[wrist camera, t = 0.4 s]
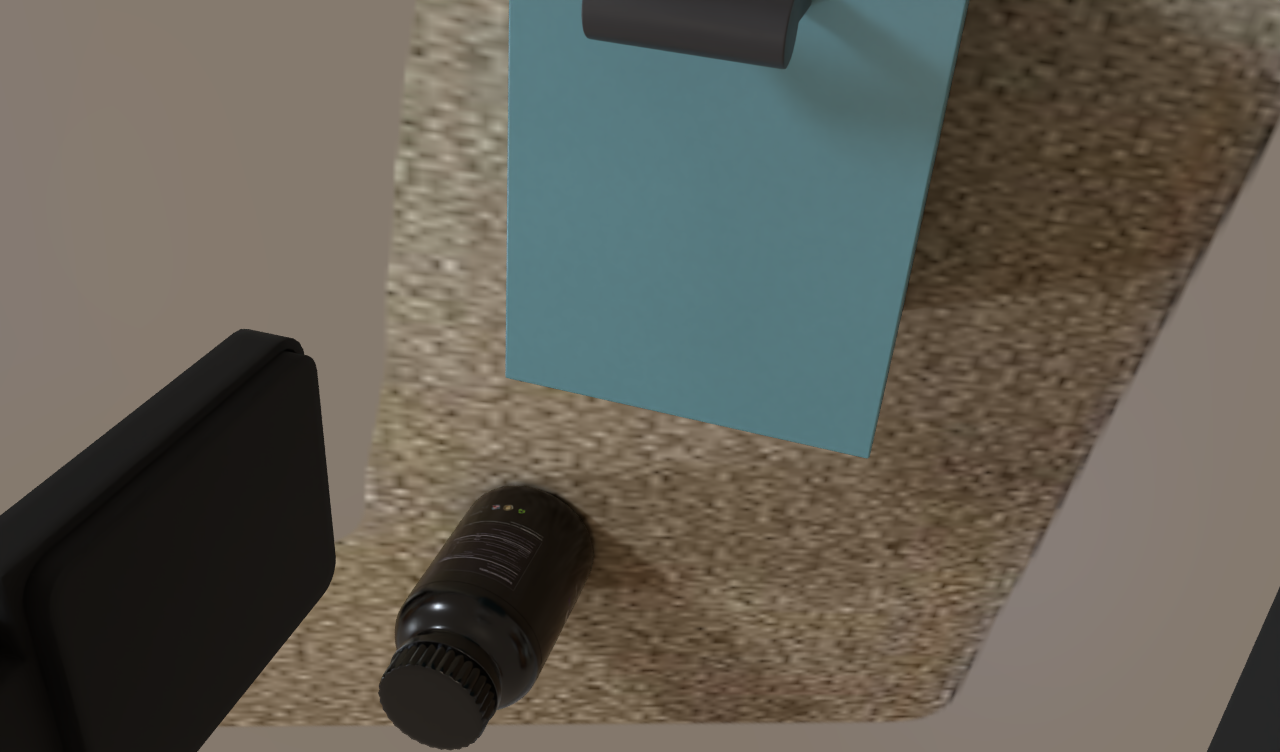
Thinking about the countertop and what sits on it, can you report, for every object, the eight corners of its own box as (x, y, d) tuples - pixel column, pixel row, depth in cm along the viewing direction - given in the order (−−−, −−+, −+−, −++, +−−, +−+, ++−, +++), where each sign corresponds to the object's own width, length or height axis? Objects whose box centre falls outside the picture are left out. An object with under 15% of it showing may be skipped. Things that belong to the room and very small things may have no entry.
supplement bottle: (603, 598, 59) (514, 784, 49) (479, 580, 61) (369, 755, 51) (591, 487, 55) (493, 662, 46) (460, 471, 57) (339, 636, 47)
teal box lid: (520, -138, 32) (432, -108, 28) (985, -81, 30) (973, -36, 25) (513, 366, 41) (446, 454, 36) (872, 446, 38) (848, 551, 34)
